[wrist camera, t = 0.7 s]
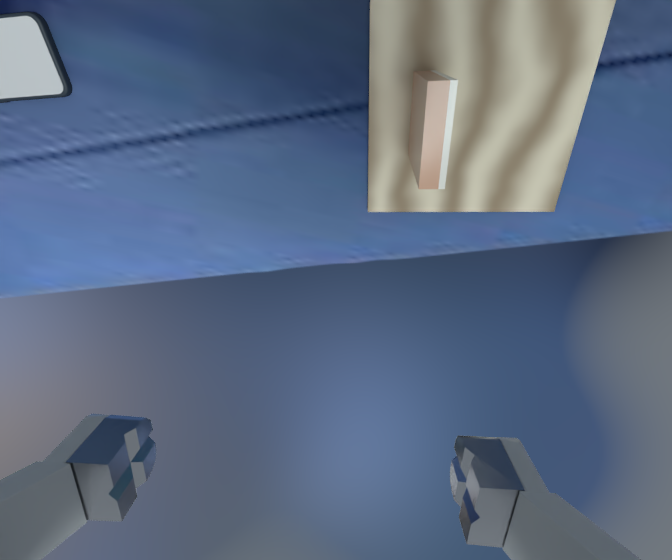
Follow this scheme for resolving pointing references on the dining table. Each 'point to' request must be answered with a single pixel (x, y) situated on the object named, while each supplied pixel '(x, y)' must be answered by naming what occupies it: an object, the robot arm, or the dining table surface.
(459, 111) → the board
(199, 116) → the dining table surface
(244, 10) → the dining table surface
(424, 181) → the tile
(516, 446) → the robot arm
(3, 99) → the phone case
